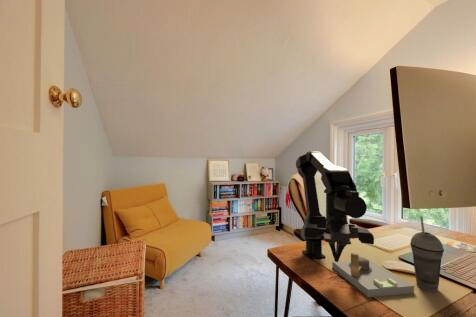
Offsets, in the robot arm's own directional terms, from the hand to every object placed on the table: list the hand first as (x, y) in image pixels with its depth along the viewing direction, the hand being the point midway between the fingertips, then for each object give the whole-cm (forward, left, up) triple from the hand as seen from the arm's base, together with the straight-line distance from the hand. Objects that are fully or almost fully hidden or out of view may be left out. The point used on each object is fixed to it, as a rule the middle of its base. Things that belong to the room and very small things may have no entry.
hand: (336, 261), depth 63 cm
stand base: (+1, +10, -6) cm, 12 cm away
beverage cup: (+7, +24, -6) cm, 25 cm away
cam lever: (-1, +8, -3) cm, 8 cm away
